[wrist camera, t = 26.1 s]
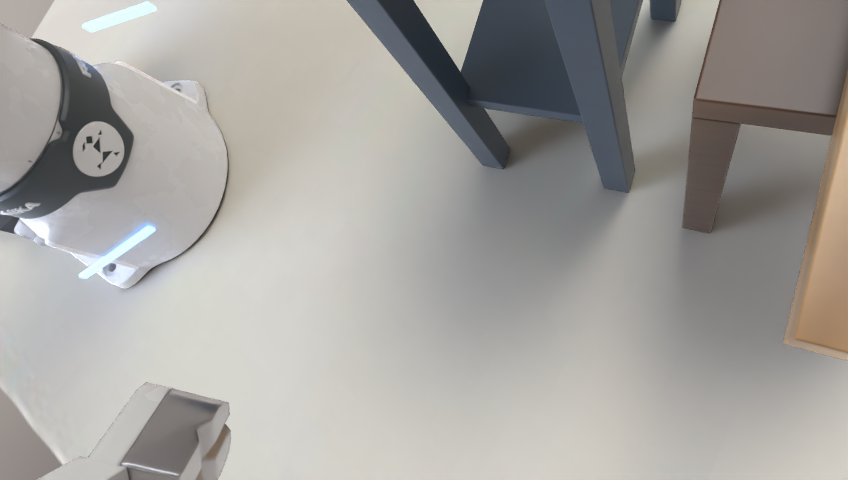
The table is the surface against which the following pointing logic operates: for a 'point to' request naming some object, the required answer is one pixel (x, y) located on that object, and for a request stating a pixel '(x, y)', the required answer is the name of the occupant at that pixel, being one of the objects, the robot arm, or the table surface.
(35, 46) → the robot arm
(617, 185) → the tall stand
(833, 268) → the crossed tan timber pieces
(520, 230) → the table surface
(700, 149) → the low stand
